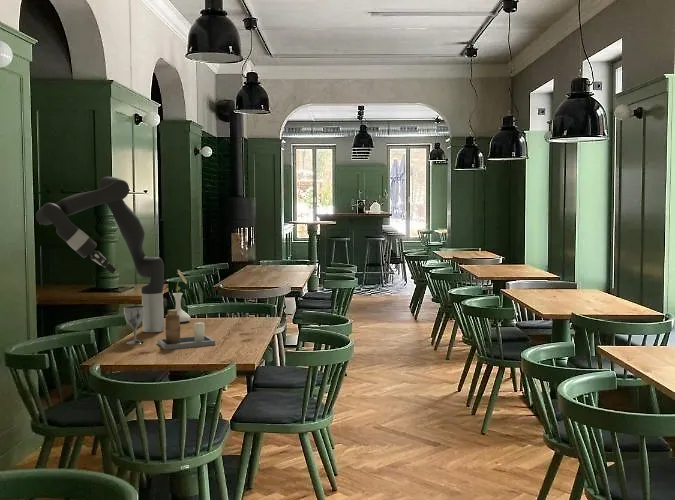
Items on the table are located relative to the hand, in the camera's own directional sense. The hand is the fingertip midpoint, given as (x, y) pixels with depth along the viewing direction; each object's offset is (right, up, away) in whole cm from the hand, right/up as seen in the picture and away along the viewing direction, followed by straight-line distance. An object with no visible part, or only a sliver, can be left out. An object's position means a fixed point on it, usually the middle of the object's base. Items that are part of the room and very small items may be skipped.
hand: (112, 270), depth 296 cm
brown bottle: (+24, -30, 0) cm, 38 cm away
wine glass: (+6, -30, +11) cm, 33 cm away
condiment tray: (+29, -30, +2) cm, 42 cm away
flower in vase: (+13, -26, +63) cm, 69 cm away
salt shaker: (+34, -29, +4) cm, 45 cm away
